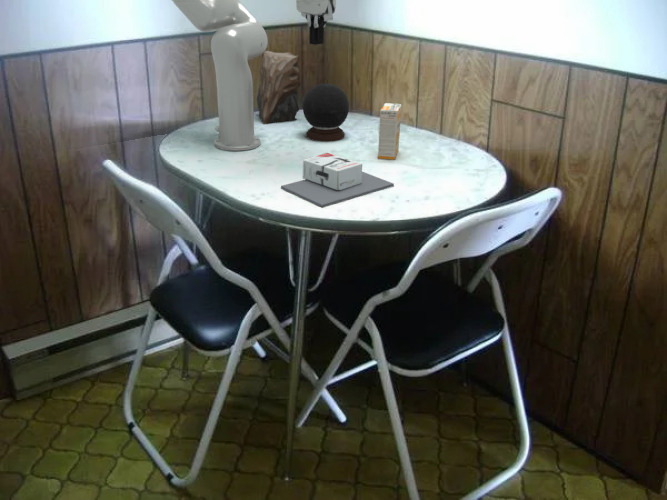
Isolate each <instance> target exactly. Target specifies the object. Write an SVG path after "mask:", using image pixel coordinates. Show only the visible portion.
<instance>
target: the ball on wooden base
mask: <svg viewBox="0 0 667 500" xmlns="http://www.w3.org/2000/svg"><path fill="white" fill-rule="evenodd" d="M349 103H350V102H349V100H348V97H347V95H346V93H345V92H344V91H343V90H342V89H341V88H340V87H339V86H337V85H336V84H331V83H319V84H317V85H314V87H312V88H310V89H309V90H308V91H307V93H306V95H305V97H304V99H303V102H302V111H303V112H302V113H303V115H304V118H305V120H306V122H307V123H309V125H310V126H311V127H309V128H308V130H307V131H306V132H305V136H306V138H307V139H308V140H311V141H316V142H325V143H326V142H338V141H341V140H343V139H345V136H346V133H345V132H344V130H343V129H342V128H340V126H342V124H344V123H345V121H346V120H347V118H348V115H349V110H350V104H349Z"/></svg>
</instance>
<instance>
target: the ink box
mask: <svg viewBox="0 0 667 500" xmlns="http://www.w3.org/2000/svg"><path fill="white" fill-rule="evenodd" d="M362 172H363V163H361V162H358V161H355V160H351V159H349V158H346V157H341V156H339V155H336V154H332V153H329V152H327V153H322V154H319V155H316V156H312V157H308V158H305V159H303V160H302V179H303V180H305V179H307V180H309V181H312V182H315V183H318V184H321V185H324V186H326V187H329V188H332V189H335V190H342V189H346V188H348V187H351V186H354V185H357V184H360V183H361V182H362Z"/></svg>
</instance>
